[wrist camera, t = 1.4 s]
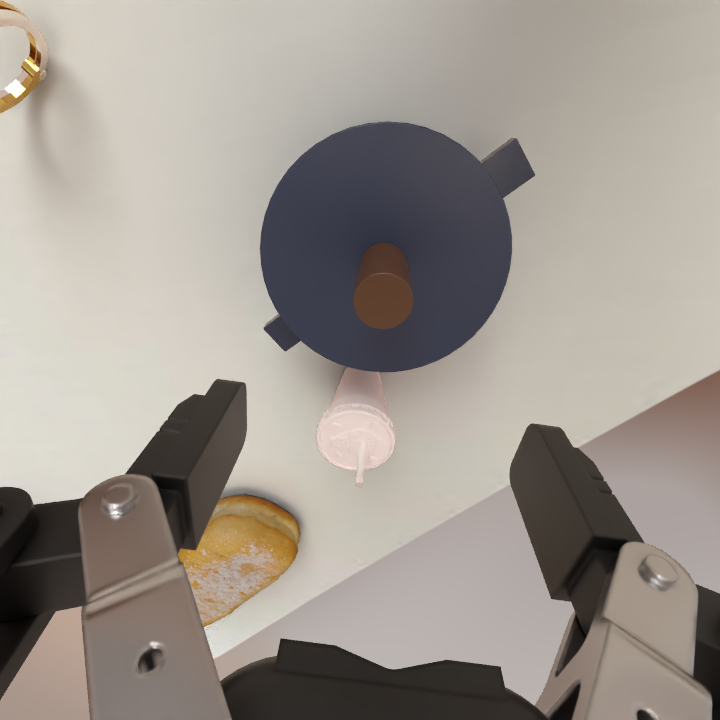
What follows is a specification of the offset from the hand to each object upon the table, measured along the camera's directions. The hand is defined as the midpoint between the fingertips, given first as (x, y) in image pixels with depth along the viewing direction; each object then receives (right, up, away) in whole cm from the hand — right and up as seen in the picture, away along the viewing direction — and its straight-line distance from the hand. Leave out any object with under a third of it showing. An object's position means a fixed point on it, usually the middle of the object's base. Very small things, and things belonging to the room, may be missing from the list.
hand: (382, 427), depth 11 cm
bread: (-20, -23, +43) cm, 53 cm away
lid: (+1, +8, +14) cm, 16 cm away
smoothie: (-1, 0, +29) cm, 29 cm away
